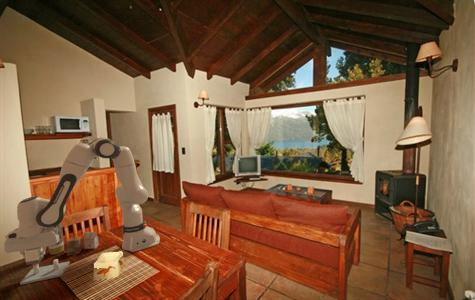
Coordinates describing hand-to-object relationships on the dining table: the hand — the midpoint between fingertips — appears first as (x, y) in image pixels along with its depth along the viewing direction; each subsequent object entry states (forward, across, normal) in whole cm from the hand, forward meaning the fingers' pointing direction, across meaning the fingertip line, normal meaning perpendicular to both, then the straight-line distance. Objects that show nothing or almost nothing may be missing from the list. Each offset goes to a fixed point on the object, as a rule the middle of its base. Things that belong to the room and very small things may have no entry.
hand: (34, 256), depth 106 cm
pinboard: (+10, -4, 0) cm, 11 cm away
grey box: (+11, -19, -20) cm, 30 cm away
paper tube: (+11, -1, -22) cm, 25 cm away
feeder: (+10, -11, -18) cm, 24 cm away
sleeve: (+3, 0, 0) cm, 3 cm away
